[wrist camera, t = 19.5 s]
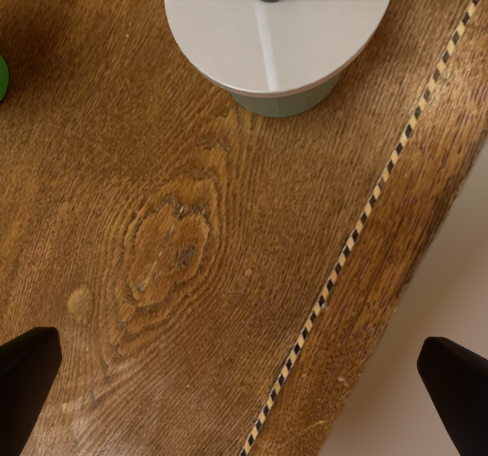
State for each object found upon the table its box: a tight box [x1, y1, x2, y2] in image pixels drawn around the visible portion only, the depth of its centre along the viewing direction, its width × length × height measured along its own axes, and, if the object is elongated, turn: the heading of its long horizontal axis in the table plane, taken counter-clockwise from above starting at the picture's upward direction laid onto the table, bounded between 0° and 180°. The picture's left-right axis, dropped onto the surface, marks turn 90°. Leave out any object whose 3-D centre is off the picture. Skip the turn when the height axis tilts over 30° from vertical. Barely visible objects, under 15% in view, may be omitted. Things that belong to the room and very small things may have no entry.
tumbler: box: [228, 68, 345, 118], centre depth 16 cm, size 8×8×6 cm
